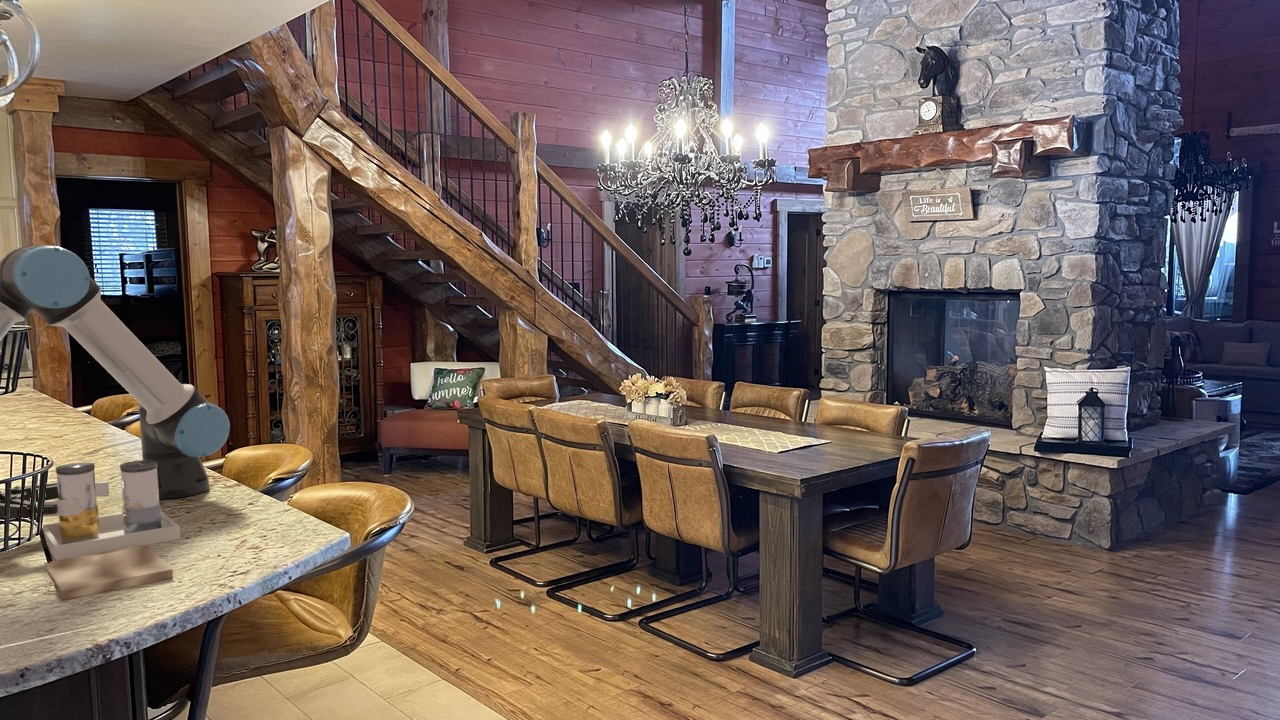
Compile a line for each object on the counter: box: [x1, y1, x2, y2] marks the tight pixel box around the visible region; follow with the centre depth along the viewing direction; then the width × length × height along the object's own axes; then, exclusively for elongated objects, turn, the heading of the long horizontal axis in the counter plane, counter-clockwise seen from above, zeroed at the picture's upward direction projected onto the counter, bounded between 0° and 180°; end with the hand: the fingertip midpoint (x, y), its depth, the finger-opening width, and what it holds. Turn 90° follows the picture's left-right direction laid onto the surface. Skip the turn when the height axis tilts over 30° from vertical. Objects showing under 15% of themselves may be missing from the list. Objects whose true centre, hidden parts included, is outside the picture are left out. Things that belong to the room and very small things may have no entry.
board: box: [43, 545, 174, 601], centre depth 163 cm, size 16×18×2 cm
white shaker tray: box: [42, 510, 181, 561], centre depth 180 cm, size 20×18×4 cm
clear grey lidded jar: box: [119, 459, 162, 534], centre depth 180 cm, size 6×6×14 cm
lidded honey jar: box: [55, 462, 100, 544], centre depth 179 cm, size 6×6×14 cm
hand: (94, 497), depth 179 cm, fingers open, 13 cm apart
